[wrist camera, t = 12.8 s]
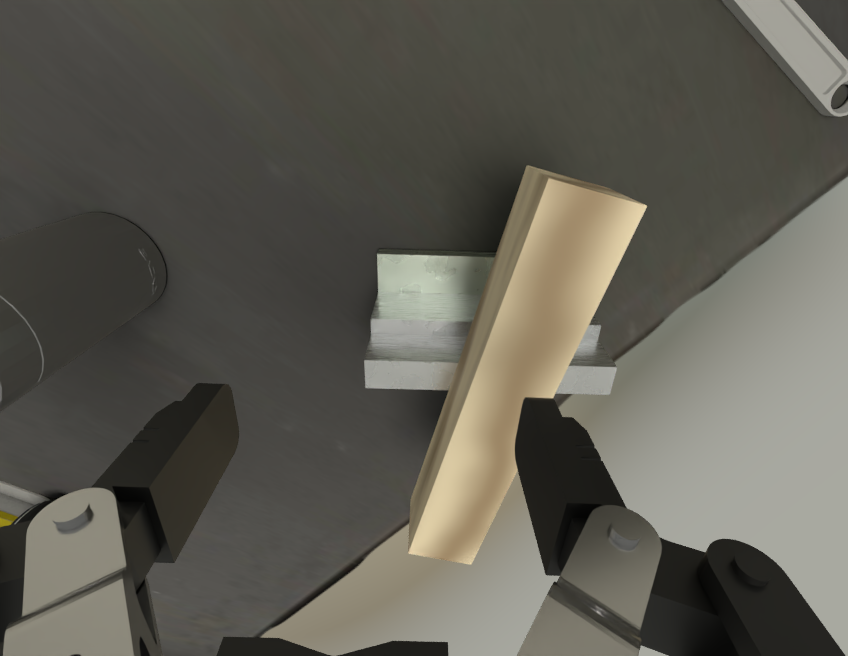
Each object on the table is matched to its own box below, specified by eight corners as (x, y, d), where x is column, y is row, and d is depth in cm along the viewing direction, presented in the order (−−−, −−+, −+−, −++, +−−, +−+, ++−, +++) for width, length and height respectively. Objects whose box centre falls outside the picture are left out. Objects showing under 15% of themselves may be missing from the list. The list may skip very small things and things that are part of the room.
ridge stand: (381, 363, 43) (367, 438, 34) (378, 248, 38) (361, 298, 28) (558, 368, 43) (595, 444, 34) (581, 254, 38) (634, 305, 28)
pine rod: (410, 499, 37) (408, 553, 32) (526, 165, 24) (548, 178, 20) (466, 510, 37) (471, 564, 33) (608, 188, 25) (647, 205, 20)
